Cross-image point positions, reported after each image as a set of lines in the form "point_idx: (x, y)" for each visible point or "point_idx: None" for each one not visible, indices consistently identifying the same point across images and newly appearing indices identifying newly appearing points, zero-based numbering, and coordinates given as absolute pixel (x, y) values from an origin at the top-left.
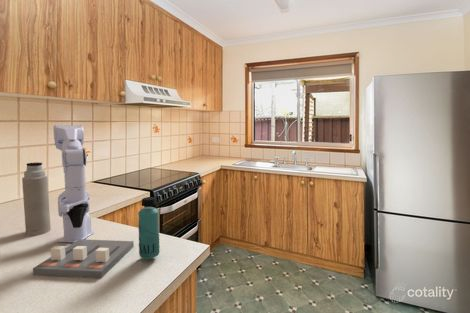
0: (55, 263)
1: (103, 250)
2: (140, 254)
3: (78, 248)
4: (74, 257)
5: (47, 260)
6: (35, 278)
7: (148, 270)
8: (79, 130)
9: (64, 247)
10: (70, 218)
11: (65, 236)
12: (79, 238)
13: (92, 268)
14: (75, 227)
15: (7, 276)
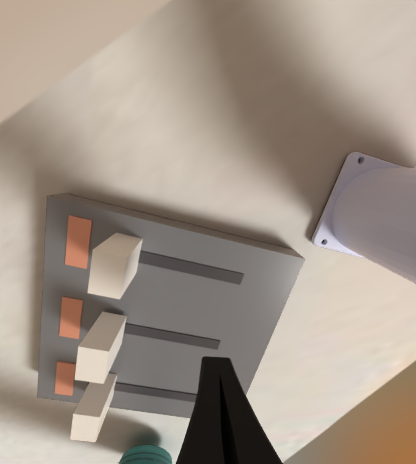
0: (82, 262)
1: (74, 433)
2: (125, 460)
3: (81, 364)
4: (97, 321)
5: (111, 220)
6: (44, 211)
7: (90, 450)
8: None
9: (118, 295)
10: (184, 440)
11: (360, 187)
12: (339, 240)
13: (53, 374)
14: (200, 369)
15: (54, 97)
